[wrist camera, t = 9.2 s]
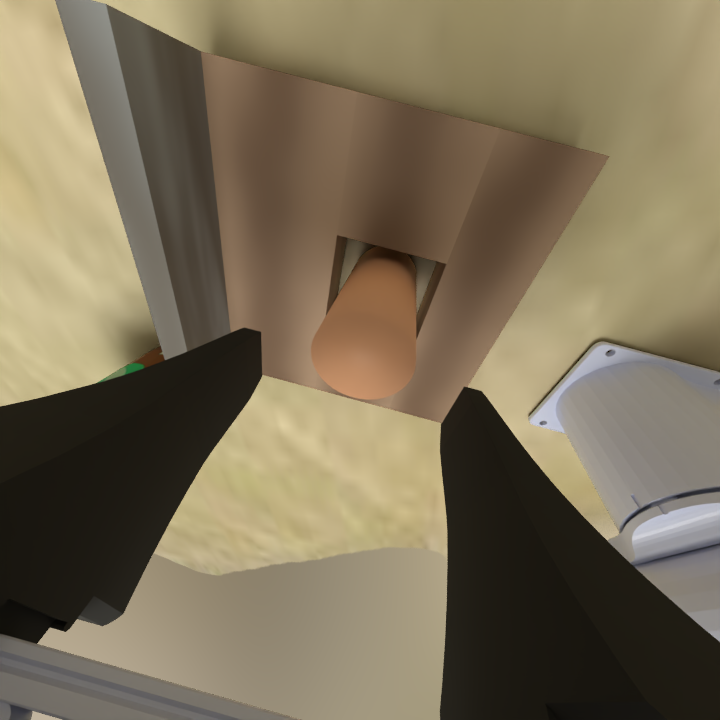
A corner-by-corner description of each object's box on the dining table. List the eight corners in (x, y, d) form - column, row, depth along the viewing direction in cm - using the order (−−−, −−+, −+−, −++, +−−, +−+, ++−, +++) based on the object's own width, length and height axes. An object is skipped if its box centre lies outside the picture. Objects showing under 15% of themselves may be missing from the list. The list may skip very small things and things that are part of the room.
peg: (427, 258, 16) (435, 335, 9) (402, 314, 19) (393, 411, 12) (363, 236, 16) (321, 296, 9) (347, 296, 19) (303, 381, 11)
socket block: (573, 157, 13) (695, 154, 7) (441, 395, 22) (449, 473, 17) (210, 63, 13) (52, -9, 7) (236, 340, 23) (176, 399, 17)
